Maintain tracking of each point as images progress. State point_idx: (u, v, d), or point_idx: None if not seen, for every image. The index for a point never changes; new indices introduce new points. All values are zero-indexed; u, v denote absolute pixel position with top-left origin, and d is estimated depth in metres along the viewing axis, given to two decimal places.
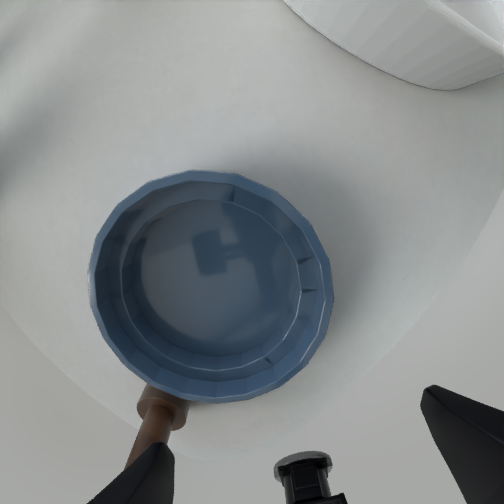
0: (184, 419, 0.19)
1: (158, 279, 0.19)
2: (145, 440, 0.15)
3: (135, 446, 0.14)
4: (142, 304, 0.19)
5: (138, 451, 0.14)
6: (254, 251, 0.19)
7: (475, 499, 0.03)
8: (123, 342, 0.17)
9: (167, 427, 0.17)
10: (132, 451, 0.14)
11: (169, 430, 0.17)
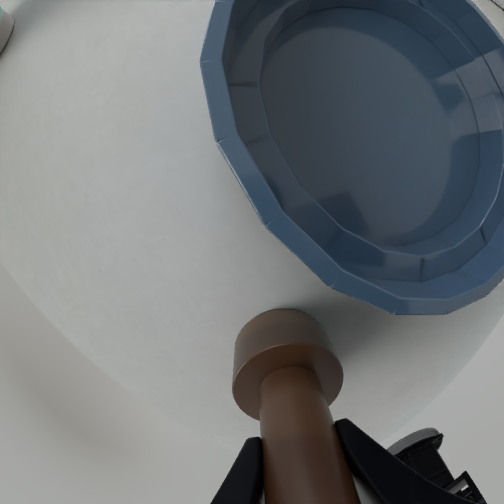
0: (339, 388, 0.10)
1: (311, 90, 0.09)
2: (312, 451, 0.05)
3: (289, 477, 0.05)
4: (275, 134, 0.10)
5: (313, 489, 0.04)
6: (438, 81, 0.09)
7: None
8: None
9: (328, 408, 0.08)
10: (284, 494, 0.04)
11: None
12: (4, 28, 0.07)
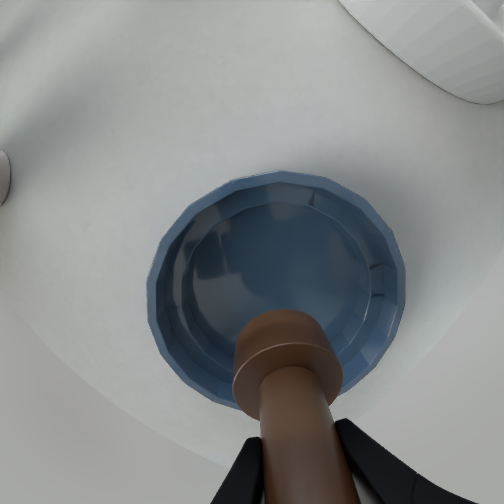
0: (339, 388, 0.10)
1: (219, 286, 0.18)
2: (313, 451, 0.05)
3: (289, 477, 0.05)
4: (198, 314, 0.19)
5: (313, 489, 0.04)
6: (323, 256, 0.18)
7: None
8: (182, 357, 0.16)
9: (328, 408, 0.08)
10: (284, 494, 0.04)
11: None
12: (4, 175, 0.15)
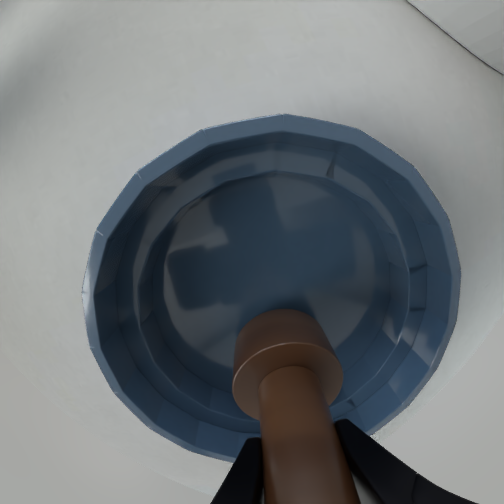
0: (339, 388, 0.10)
1: (195, 298, 0.13)
2: (312, 451, 0.05)
3: (288, 477, 0.05)
4: (169, 334, 0.13)
5: (312, 489, 0.04)
6: (344, 255, 0.12)
7: None
8: (144, 394, 0.11)
9: (328, 408, 0.08)
10: (284, 493, 0.04)
11: None
12: None
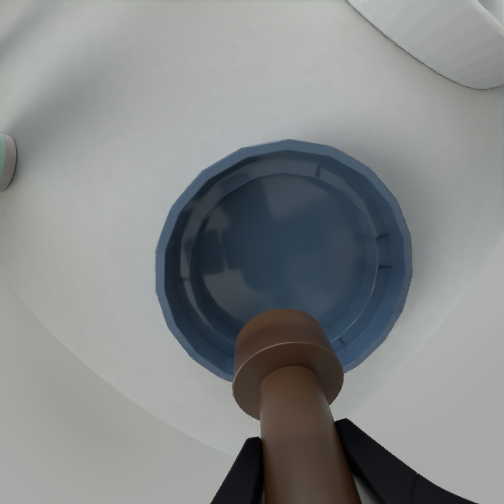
0: (339, 387, 0.10)
1: (227, 260, 0.18)
2: (313, 451, 0.05)
3: (289, 477, 0.05)
4: (206, 289, 0.19)
5: (313, 488, 0.04)
6: (330, 229, 0.18)
7: None
8: (189, 331, 0.16)
9: (328, 408, 0.08)
10: (285, 493, 0.04)
11: None
12: (10, 157, 0.16)
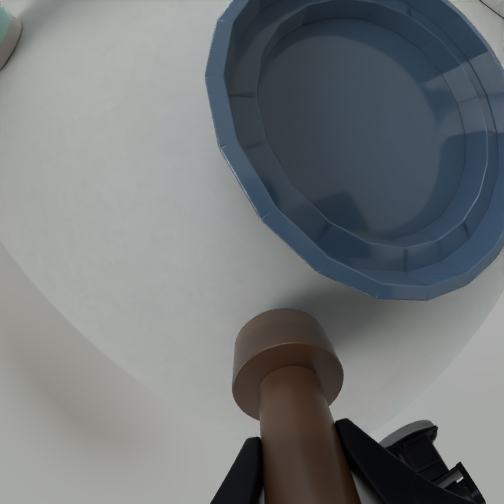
0: (339, 388, 0.10)
1: (304, 98, 0.11)
2: (312, 451, 0.05)
3: (289, 477, 0.05)
4: (271, 139, 0.11)
5: (313, 489, 0.04)
6: (425, 86, 0.10)
7: None
8: None
9: (328, 408, 0.08)
10: (285, 494, 0.04)
11: None
12: (13, 33, 0.08)
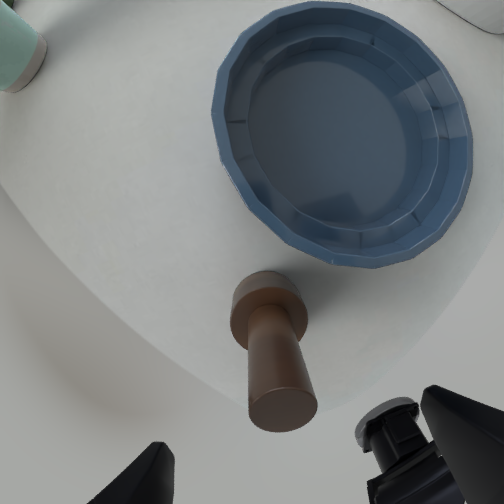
0: (305, 325, 0.15)
1: (284, 119, 0.15)
2: (277, 342, 0.11)
3: (262, 355, 0.10)
4: (258, 151, 0.15)
5: (276, 359, 0.10)
6: (386, 103, 0.15)
7: (475, 499, 0.03)
8: None
9: (293, 330, 0.13)
10: (259, 364, 0.10)
11: None
12: (40, 50, 0.12)
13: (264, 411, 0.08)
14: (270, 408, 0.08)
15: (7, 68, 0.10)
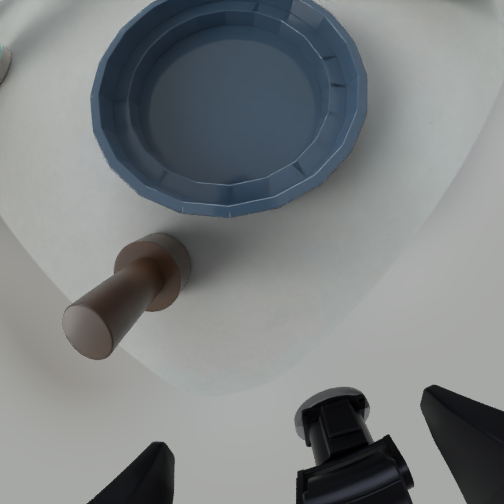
0: (179, 281, 0.15)
1: (170, 94, 0.15)
2: (113, 279, 0.11)
3: None
4: (147, 124, 0.16)
5: (97, 288, 0.10)
6: (276, 63, 0.15)
7: (475, 499, 0.03)
8: (116, 144, 0.13)
9: (152, 280, 0.14)
10: None
11: (154, 286, 0.14)
12: (5, 61, 0.12)
13: (72, 329, 0.08)
14: (75, 326, 0.08)
15: None
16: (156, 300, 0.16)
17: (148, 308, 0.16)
